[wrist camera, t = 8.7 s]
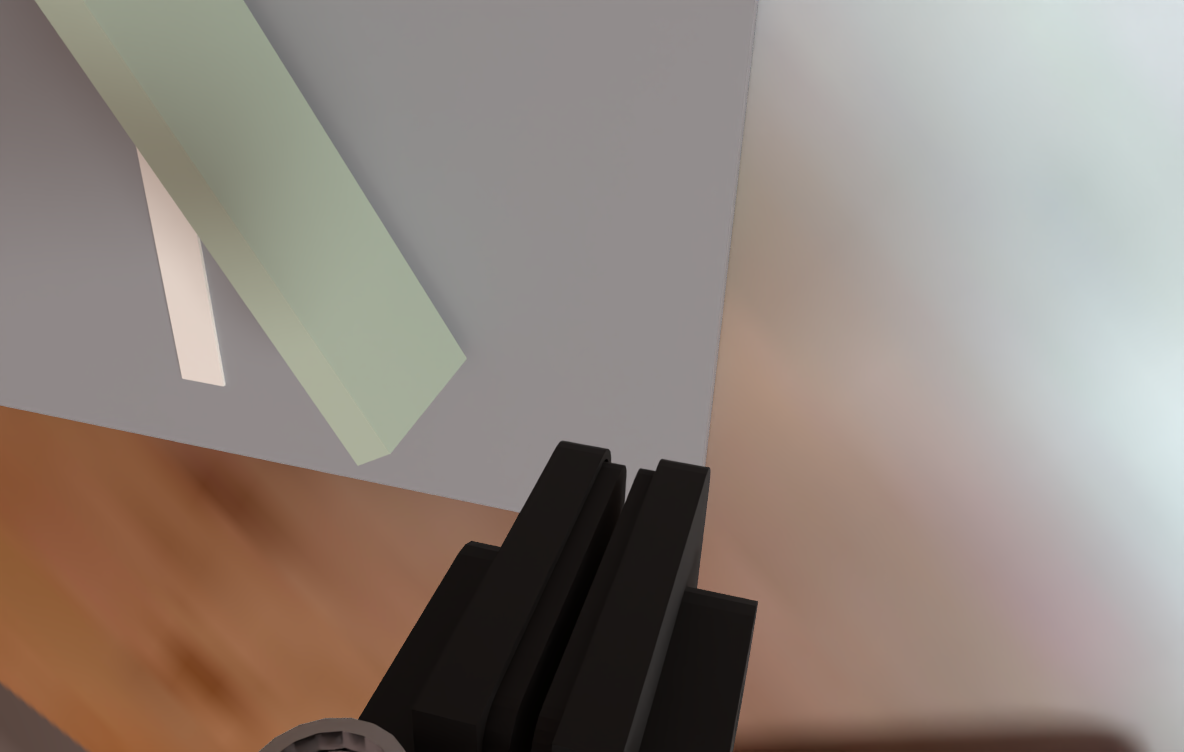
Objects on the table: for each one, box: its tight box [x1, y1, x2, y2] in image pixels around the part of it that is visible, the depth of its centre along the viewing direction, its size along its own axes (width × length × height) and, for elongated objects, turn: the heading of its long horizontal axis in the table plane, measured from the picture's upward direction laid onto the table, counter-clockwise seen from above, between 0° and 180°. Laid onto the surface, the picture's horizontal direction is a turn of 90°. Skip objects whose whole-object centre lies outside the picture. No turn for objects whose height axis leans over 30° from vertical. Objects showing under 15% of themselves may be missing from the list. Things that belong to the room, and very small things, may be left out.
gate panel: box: [35, 0, 467, 466], centre depth 22 cm, size 1×14×5 cm, turn 30°
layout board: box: [0, 0, 758, 512], centre depth 23 cm, size 24×32×6 cm
